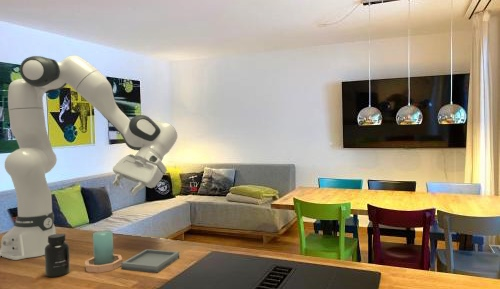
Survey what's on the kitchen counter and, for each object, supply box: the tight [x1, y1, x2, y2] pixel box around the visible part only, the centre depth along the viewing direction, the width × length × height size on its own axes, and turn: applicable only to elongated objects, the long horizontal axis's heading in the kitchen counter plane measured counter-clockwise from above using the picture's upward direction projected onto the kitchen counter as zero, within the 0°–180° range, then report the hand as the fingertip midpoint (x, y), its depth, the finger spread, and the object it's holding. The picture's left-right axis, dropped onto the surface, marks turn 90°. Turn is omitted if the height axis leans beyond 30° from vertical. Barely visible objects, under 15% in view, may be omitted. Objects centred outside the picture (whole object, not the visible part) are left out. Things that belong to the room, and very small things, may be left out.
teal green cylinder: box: [92, 229, 115, 265], centre depth 121 cm, size 6×6×11 cm
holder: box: [84, 253, 124, 274], centre depth 122 cm, size 11×11×2 cm
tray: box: [120, 248, 180, 274], centre depth 123 cm, size 13×14×2 cm
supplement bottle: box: [44, 233, 71, 278], centre depth 116 cm, size 7×7×12 cm
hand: (123, 189), depth 131 cm, fingers open, 8 cm apart
